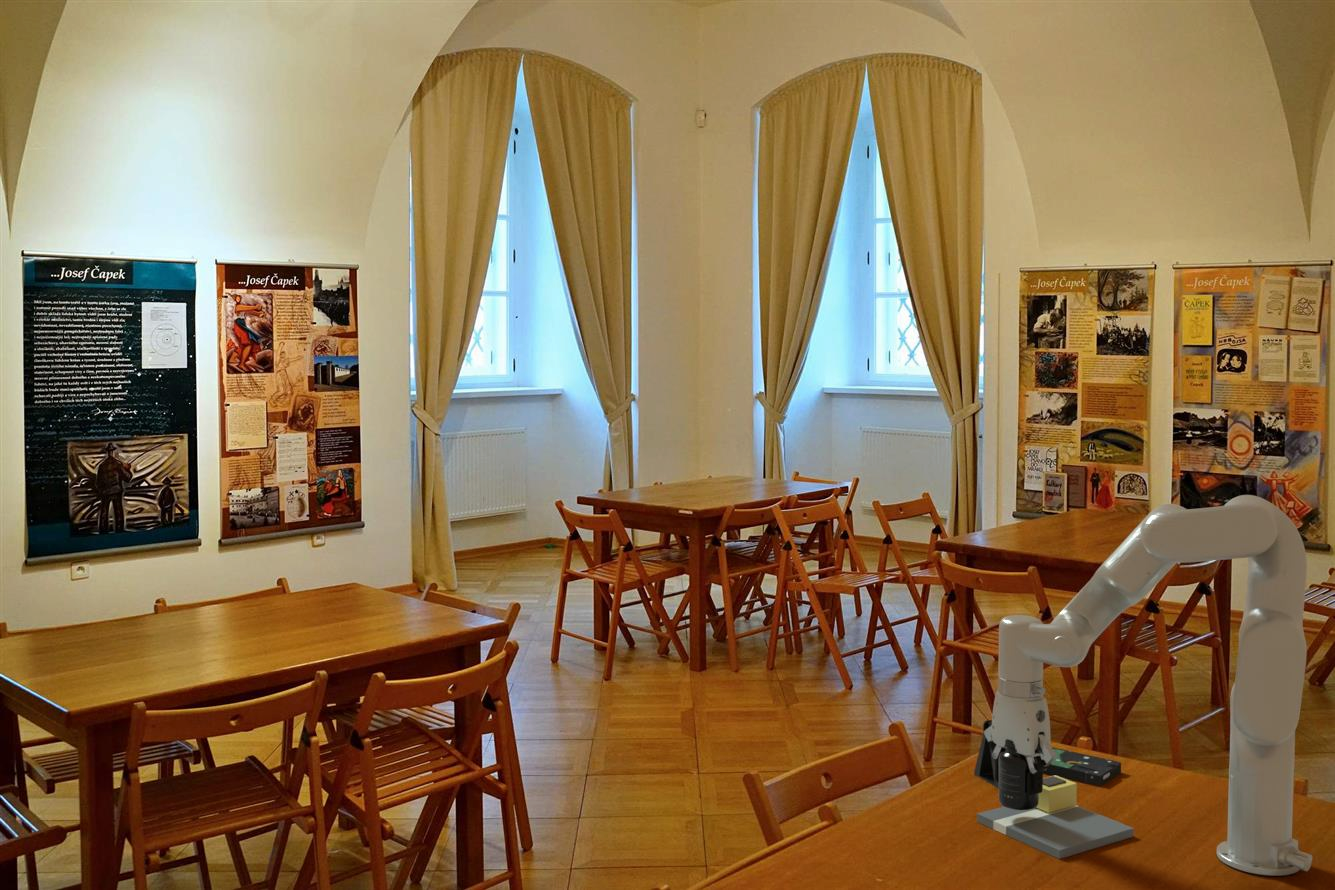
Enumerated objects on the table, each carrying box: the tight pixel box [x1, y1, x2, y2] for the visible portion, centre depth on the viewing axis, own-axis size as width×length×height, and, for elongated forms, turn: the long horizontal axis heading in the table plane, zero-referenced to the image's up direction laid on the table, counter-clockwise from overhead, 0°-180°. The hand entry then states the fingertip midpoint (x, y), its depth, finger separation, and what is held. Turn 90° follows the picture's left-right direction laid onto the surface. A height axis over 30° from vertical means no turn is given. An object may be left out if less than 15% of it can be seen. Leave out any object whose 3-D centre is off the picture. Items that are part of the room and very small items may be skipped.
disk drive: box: [1042, 746, 1122, 787], centre depth 251 cm, size 10×3×15 cm
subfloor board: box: [976, 804, 1135, 860], centre depth 222 cm, size 19×18×2 cm
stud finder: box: [1036, 775, 1078, 813], centre depth 228 cm, size 5×7×4 cm
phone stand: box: [973, 719, 999, 790], centre depth 246 cm, size 9×6×12 cm, turn 18°
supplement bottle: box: [998, 739, 1039, 810], centre depth 222 cm, size 7×7×12 cm
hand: (1018, 785), depth 222 cm, fingers closed on supplement bottle, 6 cm apart
